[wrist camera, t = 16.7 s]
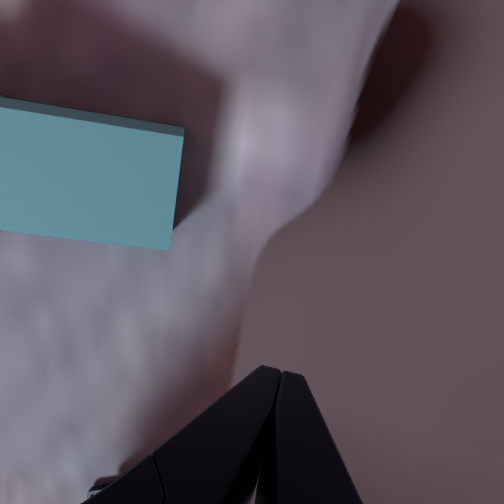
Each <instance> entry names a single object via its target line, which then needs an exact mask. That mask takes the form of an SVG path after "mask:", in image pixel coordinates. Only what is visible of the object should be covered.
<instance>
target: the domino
mask: <svg viewBox="0 0 504 504" xmlns="http://www.w3.org/2000/svg"><path fill="white" fill-rule="evenodd" d="M184 131H185V127H179V126H173V125H167V124H161V123H155V122H149V121H143V120H137V119H131V118H125V117H119V116H113V115H107V114H101V113H94V112H88V111H82V110H76V109H70V108H64V107H58V106H52V105H46V104H40V103H34V102H28V101H22V100H16V99H10V98H4V97H0V231H9V232H17V233H25V234H34V235H42V236H50V237H59V238H67V239H76V240H84V241H92V242H101V243H109V244H117V245H126V246H134V247H142V248H151V249H159V250H168V251H170V245H171V237H172V229H173V220H174V212H175V204H176V196H177V188H178V180H179V172H180V163H181V155H182V147H183V139H184Z"/></svg>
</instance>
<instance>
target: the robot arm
mask: <svg viewBox="0 0 504 504" xmlns="http://www.w3.org/2000/svg"><path fill="white" fill-rule="evenodd" d="M280 377H281V378H280ZM279 381H280V382H279ZM265 445H266V446H265ZM263 454H264V455H263ZM262 459H263V460H262ZM261 463H262V464H261ZM260 468H261V469H260ZM259 472H260V474H259ZM258 477H259V479H258ZM257 481H258V484H257ZM256 484H257V489H256V498H255V504H363V502H362V499H361V498H360V495H359V493H358V491H357V489H356V487H355V485H354V483H353V480H352V478H351V476H350V474H349V472H348V470H347V467H346V465H345V463H344V461H343V459H342V457H341V455H340V453H339V450H338V448H337V446H336V444H335V442H334V440H333V438H332V436H331V433H330V431H329V429H328V427H327V425H326V423H325V421H324V419H323V416H322V414H321V412H320V410H319V408H318V406H317V403H316V401H315V399H314V397H313V395H312V393H311V391H310V389H309V386H308V384H307V382H306V380H305V378H304V376H303V375H301V374H297V373H292V372H288V371H283V372H282V374H281V371H280V370H279V369H276V368H272V367H268V366H264V365H262V366H259V367H258V368H256V369H255V370H254V371H253V372H251V374H249V375H248V376H247V377H246V378H244V379H243V380H242V381H240V382H239V383H238V384H237V385H235V386H234V387H233V388H231V389H230V390H229V391H228V392H226V393H225V394H224V395H223V396H222V397H220V398H219V399H218V400H217V401H215V402H214V403H213V404H212V405H210V406H209V407H208V408H207V409H205V410H204V411H203V412H202V413H200V414H199V415H198V416H197V417H195V418H194V419H193V420H192V421H190V422H189V423H188V424H187V425H185V426H184V427H183V428H182V429H180V430H179V431H178V432H177V433H175V434H174V435H173V436H172V437H170V438H169V439H168V440H167V441H165V442H164V443H163V444H162V445H160V446H159V447H158V448H157V449H155V450H154V451H153V452H152V454H149V455H147V456H146V457H145V458H144V459H142V460H141V461H140V462H139V463H138V464H136V465H135V466H134V467H132V468H131V469H130V470H128V471H127V472H126V473H124V474H123V475H122V476H120V477H119V478H118V479H116V480H115V481H114V482H112V483H111V484H105V485H99V486H93V487H91V488H90V490H89V491H88V493H87V498H88V499H87V500H86V501H84V502H83V503H81V504H251V501H252V498H253V495H254V491H255V488H256Z"/></svg>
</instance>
